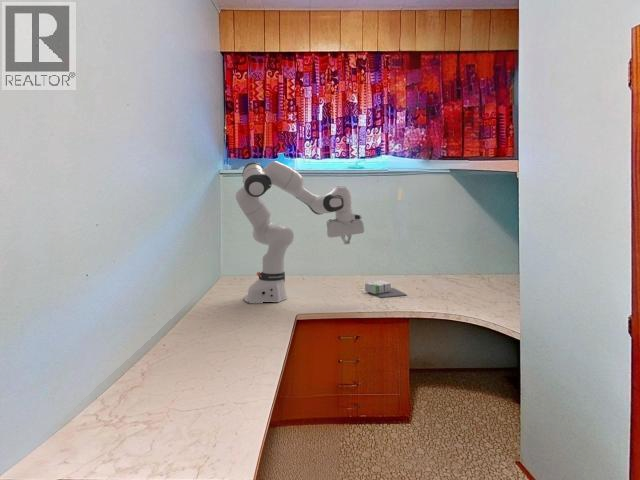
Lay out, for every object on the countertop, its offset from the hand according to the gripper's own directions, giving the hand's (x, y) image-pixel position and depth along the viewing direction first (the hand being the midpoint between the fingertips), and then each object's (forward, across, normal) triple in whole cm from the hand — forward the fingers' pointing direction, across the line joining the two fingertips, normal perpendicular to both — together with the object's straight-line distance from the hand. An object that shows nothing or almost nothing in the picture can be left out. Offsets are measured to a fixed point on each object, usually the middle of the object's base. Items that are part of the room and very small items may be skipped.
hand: (347, 244), depth 228 cm
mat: (+30, +23, +3) cm, 38 cm away
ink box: (+26, +13, +4) cm, 30 cm away
